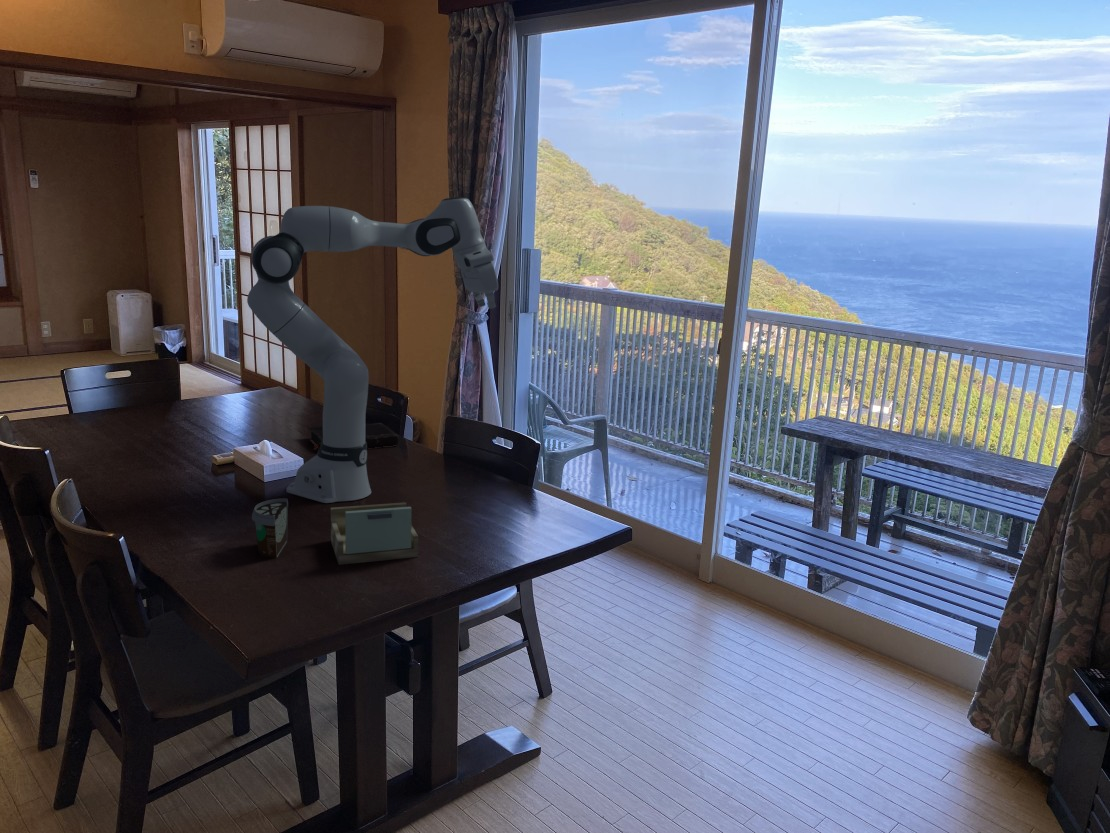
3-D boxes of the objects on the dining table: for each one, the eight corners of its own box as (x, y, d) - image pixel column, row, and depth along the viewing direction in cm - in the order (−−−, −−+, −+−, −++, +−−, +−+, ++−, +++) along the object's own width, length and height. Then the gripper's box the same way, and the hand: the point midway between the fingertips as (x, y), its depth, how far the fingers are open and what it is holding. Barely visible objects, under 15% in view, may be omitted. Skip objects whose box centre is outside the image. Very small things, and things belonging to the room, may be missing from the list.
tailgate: (345, 551, 172) (345, 511, 170) (409, 546, 178) (410, 506, 176) (346, 555, 171) (346, 514, 169) (411, 549, 176) (412, 509, 174)
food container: (261, 538, 183) (260, 497, 181) (288, 538, 183) (288, 497, 181) (245, 560, 171) (244, 516, 169) (275, 560, 171) (274, 516, 169)
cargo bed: (330, 540, 184) (330, 507, 182) (404, 534, 190) (405, 502, 189) (338, 564, 171) (338, 529, 170) (417, 556, 178) (418, 523, 176)
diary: (398, 449, 264) (398, 434, 263) (322, 456, 251) (322, 441, 249) (379, 434, 279) (379, 420, 278) (306, 440, 266) (306, 426, 265)
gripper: (451, 260, 221) (466, 308, 225) (471, 260, 202) (487, 313, 206) (472, 254, 223) (486, 301, 227) (494, 253, 204) (509, 305, 208)
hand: (487, 307), depth 216 cm, fingers open, 8 cm apart
